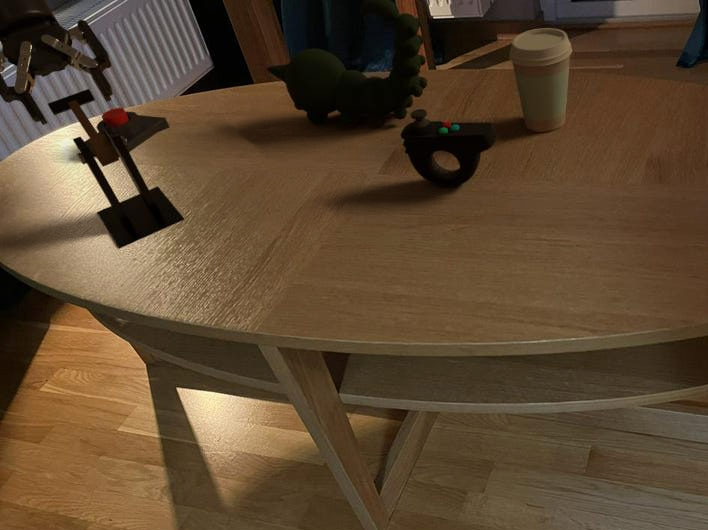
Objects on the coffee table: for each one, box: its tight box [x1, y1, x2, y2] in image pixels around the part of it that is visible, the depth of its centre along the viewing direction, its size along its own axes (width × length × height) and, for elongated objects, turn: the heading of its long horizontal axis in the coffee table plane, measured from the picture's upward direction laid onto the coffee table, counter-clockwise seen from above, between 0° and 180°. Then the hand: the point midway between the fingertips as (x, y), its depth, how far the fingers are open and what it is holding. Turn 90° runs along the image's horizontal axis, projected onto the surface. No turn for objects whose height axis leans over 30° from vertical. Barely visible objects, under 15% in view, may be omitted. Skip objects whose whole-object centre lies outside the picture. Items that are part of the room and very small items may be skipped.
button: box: [101, 107, 129, 127], centre depth 113 cm, size 4×4×2 cm
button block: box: [84, 111, 171, 158], centre depth 115 cm, size 11×9×4 cm
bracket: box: [72, 125, 185, 249], centre depth 93 cm, size 12×9×13 cm
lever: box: [47, 88, 120, 167], centre depth 92 cm, size 13×6×2 cm, turn 36°
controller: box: [400, 108, 498, 188], centre depth 90 cm, size 4×12×10 cm, turn 76°
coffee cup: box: [508, 27, 573, 133], centre depth 98 cm, size 8×8×12 cm
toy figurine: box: [266, 0, 428, 128], centre depth 105 cm, size 9×19×25 cm
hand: (76, 109), depth 93 cm, fingers open, 8 cm apart
